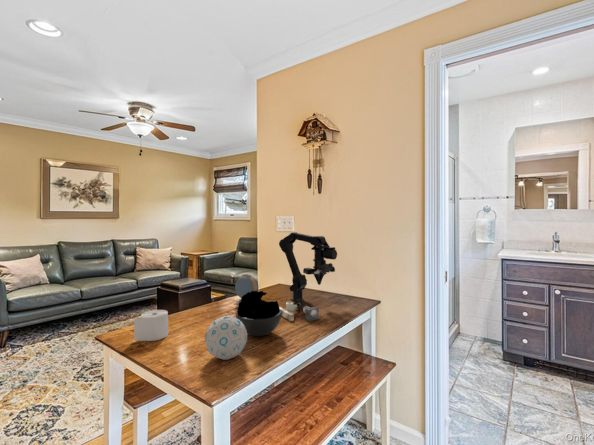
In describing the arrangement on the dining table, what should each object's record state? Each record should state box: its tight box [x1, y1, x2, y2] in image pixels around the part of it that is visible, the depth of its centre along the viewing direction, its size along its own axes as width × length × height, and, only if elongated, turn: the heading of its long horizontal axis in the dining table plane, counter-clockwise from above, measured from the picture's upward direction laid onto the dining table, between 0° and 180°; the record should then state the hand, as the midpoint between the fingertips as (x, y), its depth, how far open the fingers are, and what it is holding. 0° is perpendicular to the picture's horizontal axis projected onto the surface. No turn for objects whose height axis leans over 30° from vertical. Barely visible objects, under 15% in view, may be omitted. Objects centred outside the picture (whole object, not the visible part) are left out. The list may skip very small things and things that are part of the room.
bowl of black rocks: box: [235, 290, 283, 337], centre depth 133 cm, size 20×20×19 cm
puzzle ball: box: [204, 315, 248, 361], centre depth 112 cm, size 15×15×15 cm
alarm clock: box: [233, 273, 259, 306], centre depth 179 cm, size 14×10×18 cm
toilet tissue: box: [133, 309, 169, 342], centre depth 131 cm, size 11×12×10 cm
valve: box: [285, 298, 306, 314], centre depth 162 cm, size 7×7×12 cm
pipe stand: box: [302, 305, 320, 322], centre depth 153 cm, size 8×6×6 cm
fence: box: [279, 306, 295, 322], centre depth 158 cm, size 18×2×3 cm, turn 32°
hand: (319, 284), depth 176 cm, fingers closed
